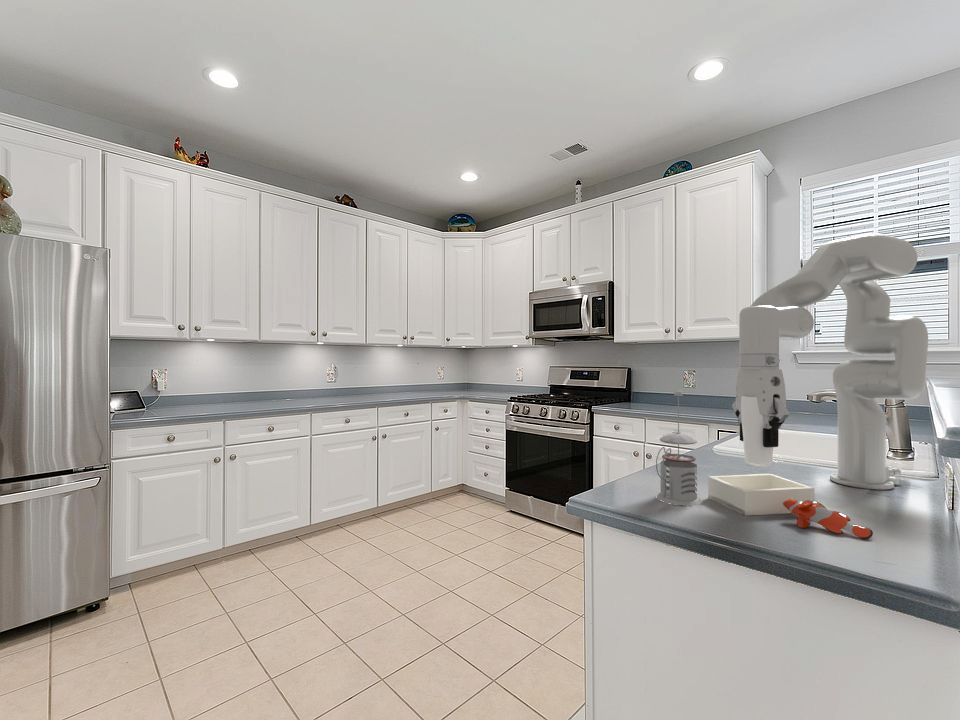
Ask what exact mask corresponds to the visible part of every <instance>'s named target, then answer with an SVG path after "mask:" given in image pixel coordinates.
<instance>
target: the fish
mask: <svg viewBox="0 0 960 720" xmlns="http://www.w3.org/2000/svg"><path fill="white" fill-rule="evenodd" d="M783 505H784V506H785V507H786V508H787V509H788V510H789V511H790V512H791V513H790V514H793V515H794V516H796V520H797V521H796V526H797V527H798V528H800V529H807V528H808V527H809V526H810V524H811V522H813V523H816V524H818V525H821V526H822V527H823V528H825V529H826V530H828V531H829V532H831V533H833V534H836V535H842V534H844V531H843V530H845V531H847V532H849V533H851V534H853V535H854V536H856V537H858V538H860V539H863V540H869V539H871V538H872V537H873V535H874V532H873V530H872V529H871V528H868V527H866V526H861V525H857V524H852V523H850V522H851V518H850V517H849V516H848V515H846V514H844V513H842V512H840V511H835V510H831V509H828V508H827V507H826V506H825V505H824V504H822V503H820V502H817V501H814V502H812V501H809V500H806V501H801V500H793V499H788V500H785V501H784V502H783Z"/></svg>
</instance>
